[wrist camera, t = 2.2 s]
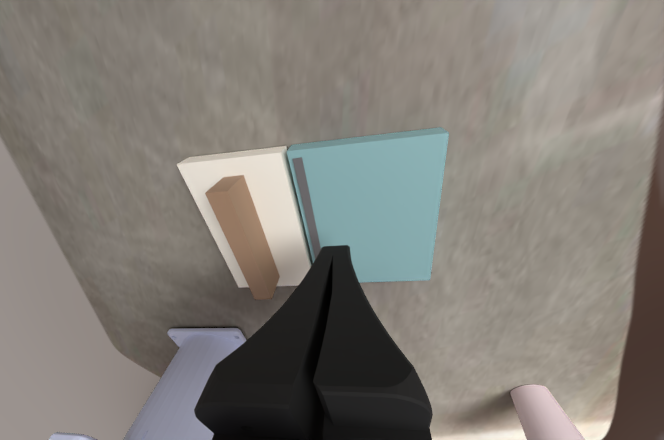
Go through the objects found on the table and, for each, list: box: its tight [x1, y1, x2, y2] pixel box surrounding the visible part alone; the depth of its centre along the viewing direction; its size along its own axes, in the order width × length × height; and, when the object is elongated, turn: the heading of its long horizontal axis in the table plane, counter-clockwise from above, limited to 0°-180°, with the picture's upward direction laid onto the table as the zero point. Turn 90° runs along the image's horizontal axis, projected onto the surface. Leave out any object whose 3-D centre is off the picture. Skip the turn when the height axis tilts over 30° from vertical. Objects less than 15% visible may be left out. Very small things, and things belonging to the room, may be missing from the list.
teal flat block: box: [287, 127, 449, 282], centre depth 15 cm, size 10×8×1 cm
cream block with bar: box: [177, 146, 313, 300], centre depth 15 cm, size 10×6×3 cm, turn 8°
